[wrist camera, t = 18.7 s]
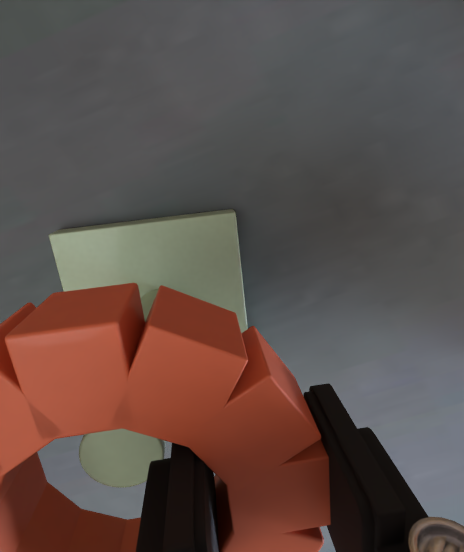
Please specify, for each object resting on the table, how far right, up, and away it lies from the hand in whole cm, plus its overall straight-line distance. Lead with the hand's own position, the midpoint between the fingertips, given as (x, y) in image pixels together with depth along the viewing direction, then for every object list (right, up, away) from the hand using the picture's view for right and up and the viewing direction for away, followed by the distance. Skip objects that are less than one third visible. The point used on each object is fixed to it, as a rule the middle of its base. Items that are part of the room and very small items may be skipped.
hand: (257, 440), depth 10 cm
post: (-5, +3, +12) cm, 13 cm away
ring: (-4, 0, 0) cm, 4 cm away
